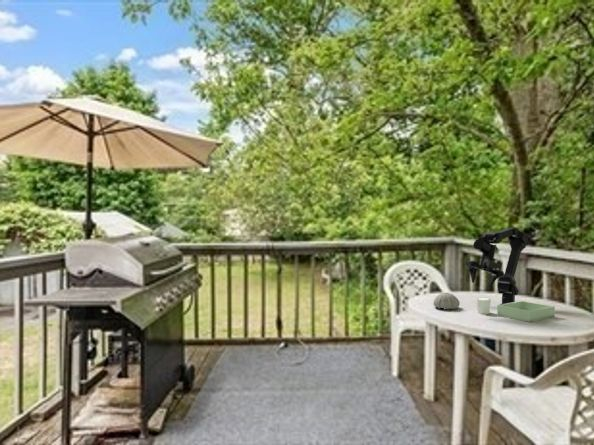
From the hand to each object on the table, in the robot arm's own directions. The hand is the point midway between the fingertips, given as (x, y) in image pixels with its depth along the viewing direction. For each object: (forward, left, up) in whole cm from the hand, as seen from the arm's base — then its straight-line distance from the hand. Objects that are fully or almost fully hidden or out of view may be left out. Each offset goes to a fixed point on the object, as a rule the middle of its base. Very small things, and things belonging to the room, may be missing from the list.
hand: (481, 285), depth 287 cm
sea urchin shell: (+5, -18, -14) cm, 23 cm away
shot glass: (-1, +1, -14) cm, 14 cm away
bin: (-11, +18, -14) cm, 25 cm away
